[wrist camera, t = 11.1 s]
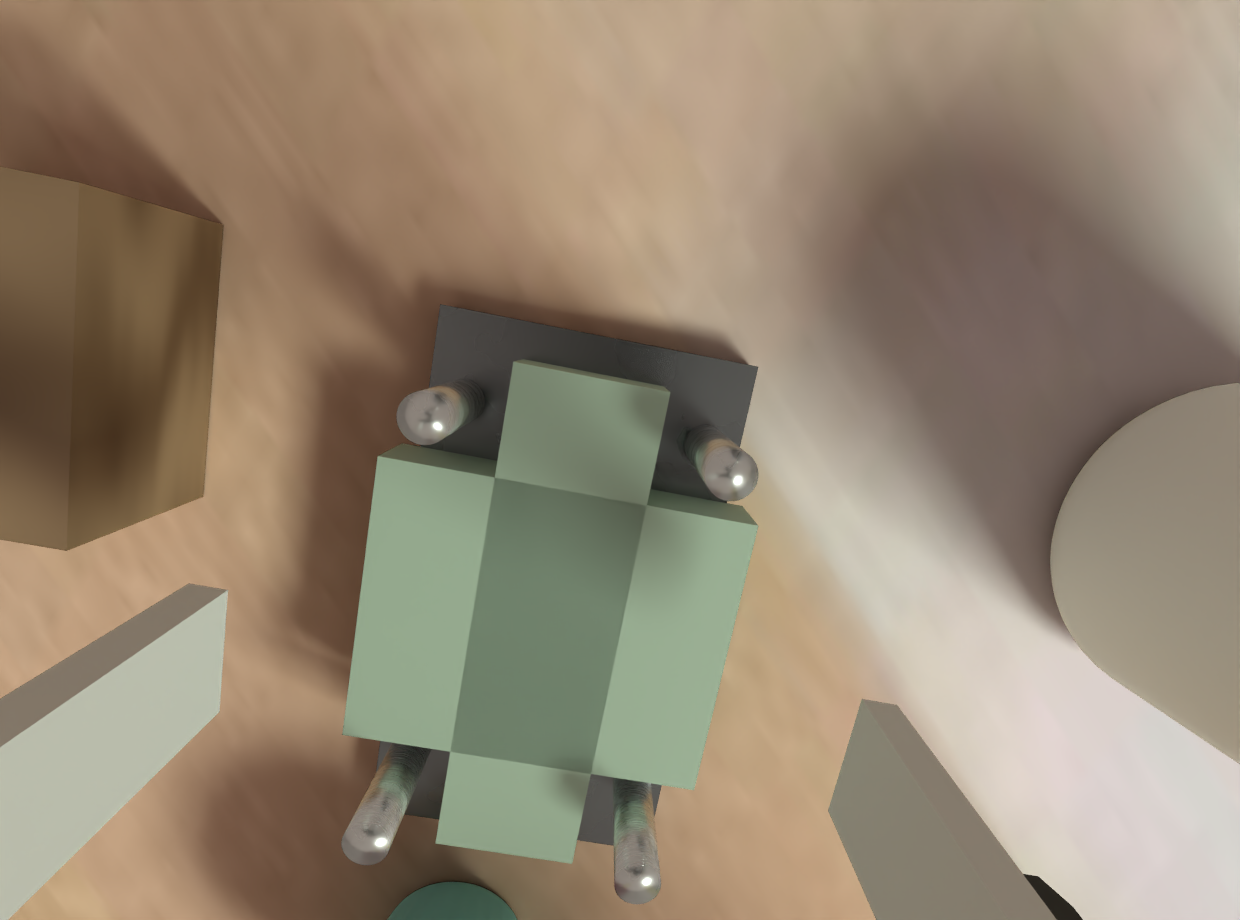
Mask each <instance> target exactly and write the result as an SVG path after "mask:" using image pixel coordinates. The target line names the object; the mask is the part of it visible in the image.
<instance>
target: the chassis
mask: <svg viewBox="0 0 1240 920" xmlns="http://www.w3.org/2000/svg"><path fill="white" fill-rule="evenodd" d="M522 359H526V360H531V361H536V362H541V363H546V364H551V365H556V366H562V367H567V368H572V369H577V370H582V371H587V372H592V373H598V374H603V375H608V376H613V377H618V378H623V379H628V380H633V381H639V382H644V383H649V384H654V385H659V386H664V387H665V388H666V389H667V390H668V391H670V392H671V393H670V397H669V402H668V407H667V412H666V417H665V421H664V426H663V431H662V436H661V441H660V445H659V450H658V455H657V460H656V464H655V469H654V474H653V479H652V484H651V488H650V489H652V490H658V491H663V492H668V493H674V494H679V495H685V496H690V497H696V498H701V499H706V500H712V501H717V502H723V503H727V501H737V500H740V499H743V498H745V497H746V496H748V495H749V494H750V493H751V492H752V491H753V489H754V488H755V486H756V484H757V481H758V468H757V465H756V463H755V461H754V460H753V458H752V457H751V456H750V455H748V454H747V453H746V452H745V451H743V450H742V449H741V448H740V444H741V439H742V435H743V431H744V426H745V422H746V418H747V413H748V409H749V405H750V400H751V396H752V392H753V388H754V383H755V379H756V375H757V370H758V367H757V366H752V365H747V364H741V363H736V362H731V361H726V360H721V359H716V358H711V357H706V356H701V355H696V354H691V353H686V352H680V351H675V350H670V349H665V348H660V347H655V346H650V345H645V344H640V343H635V342H630V341H624V340H619V339H614V338H609V337H604V336H599V335H594V334H589V333H584V332H579V331H574V330H569V329H563V328H558V327H553V326H548V325H543V324H538V323H533V322H528V321H523V320H518V319H513V318H507V317H502V316H497V315H492V314H487V313H482V312H477V311H472V310H467V309H462V308H457V307H452V306H446V305H441V304H440V311H439V318H438V325H437V333H436V340H435V347H434V354H433V362H432V369H431V376H430V384H429V388H428V389H424V390H421V391H417V392H414V393H411V394H409V395H408V396H406V397H405V398H404V399H403V400H402V401H401V403H400V405H399V407H398V410H397V424H398V427H399V429H400V431H401V432H402V434H403V435H404V436H405V437H406V438H407V439H409V440H410V441H412V442H414V443H416V444H420V445H421V447H425V448H430V449H436V450H441V451H447V452H452V453H457V454H463V455H468V456H474V457H479V458H485V459H490V460H495V461H498V454H499V448H500V442H501V436H502V430H503V424H504V417H505V411H506V405H507V399H508V393H509V387H510V380H511V374H512V368H513V362H515V361H518V360H522ZM449 757H450V752H448V751H442V750H436V749H429V748H423V747H417V746H410V745H404V744H398V743H391V742H385V741H380V748H379V755H378V762H377V770H376V774H375V776H374V778H373V780H372V782H371V784H370V786H369V788H368V789H367V791H366V793H365V795H364V797H363V799H362V801H361V803H360V805H359V807H358V808H357V810H356V812H355V814H354V816H353V818H352V820H351V822H350V824H349V826H348V828H347V829H346V831H345V833H344V835H343V837H342V842H341V845H342V850H343V852H344V854H345V855H346V856H347V857H348V858H349V859H350V860H351V861H353V862H355V863H357V864H361V865H373V864H376V863H378V862H380V861H382V860H383V859H384V858H385V857H386V856H387V854H388V852H389V849H390V847H391V845H392V842H393V840H394V837H395V835H396V833H397V830H398V828H399V826H400V823H401V821H402V818H403V816H404V814H406V815H413V816H420V817H426V818H433V819H439V818H440V812H441V806H442V800H443V794H444V787H445V781H446V775H447V769H448V763H449ZM661 786H662V785H658V784H652V783H646V782H639V781H633V780H627V779H620V778H614V777H607V776H601V775H595V774H591V776H590V780H589V785H588V790H587V795H586V800H585V804H584V809H583V814H582V819H581V823H580V828H579V833H578V838H577V840H580V841H587V842H594V843H600V844H607V845H614V883H615V890H616V893H617V895H618V896H619V897H620V898H621V899H622V900H624V901H626V902H628V903H631V904H643V903H646V902H649V901H651V900H652V899H653V898H655V897H656V895H657V894H658V893H659V891H660V887H661V879H660V869H659V860H658V850H657V840H656V830H655V821H654V816H655V812H656V808H657V803H658V799H659V795H660V790H661Z"/></svg>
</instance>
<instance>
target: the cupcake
mask: <svg viewBox="0 0 1240 920" xmlns="http://www.w3.org/2000/svg"><path fill="white" fill-rule="evenodd" d="M387 920H517V918H516V916H515V914H514V913H513V911H512V910H511V908H510V907H509V906H508V905H507V904H506V903H505V902H504V901H503V900H502V899H501V898H500V897H498V896H497V895H496V894H494V893H492V892H491V891H489V890H487V889H485V888H482V887H480V886H477V885H474V884H469V883H464V882H442V883H436V884H432V885H428V886H426V887H423V888H421V889H419V890H417V891H415V892H413V893H412V894H410V895H409V896H407V897H406V898H405V899H404V900H403V901H402V902H401V903H400V904H399V905H398V906H397V907H396V908H395V909H394V911H393V912H392V914H391V915H390V916H389V918H388V919H387Z"/></svg>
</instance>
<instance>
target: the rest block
mask: <svg viewBox="0 0 1240 920" xmlns="http://www.w3.org/2000/svg"><path fill="white" fill-rule="evenodd" d="M222 237H223V225H222V224H219V223H216V222H212V221H209V220H205V219H202V218H199V217H195V216H192V215H188V214H185V213H182V212H178V211H175V210H172V209H168V208H165V207H161V206H158V205H155V204H151V203H148V202H144V201H141V200H138V199H134V198H131V197H127V196H124V195H121V194H117V193H114V192H110V191H107V190H104V189H100V188H97V187H94V186H90V185H87V184H83V183H80V182H75V181H70V180H65V179H60V178H55V177H50V176H45V175H40V174H35V173H31V172H26V171H21V170H16V169H11V168H6V167H1V166H0V540H6V541H12V542H18V543H24V544H30V545H36V546H41V547H47V548H53V549H59V550H65V551H67V550H70V549H72V548H75V547H77V546H80V545H82V544H85V543H87V542H90V541H93V540H95V539H98V538H100V537H103V536H105V535H108V534H110V533H113V532H115V531H118V530H120V529H123V528H125V527H128V526H130V525H133V524H135V523H138V522H140V521H143V520H146V519H148V518H151V517H153V516H156V515H158V514H161V513H163V512H166V511H168V510H171V509H173V508H176V507H178V506H181V505H183V504H186V503H188V502H191V501H193V500H196V499H198V498H201V497H203V492H204V479H205V465H206V452H207V439H208V425H209V412H210V398H211V385H212V371H213V358H214V345H215V331H216V318H217V304H218V291H219V278H220V264H221V251H222Z"/></svg>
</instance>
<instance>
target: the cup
mask: <svg viewBox="0 0 1240 920" xmlns="http://www.w3.org/2000/svg"><path fill="white" fill-rule="evenodd" d="M1050 569H1051V579H1052V588H1053V592H1054V596H1055V600H1056V603H1057V606H1058V609H1059V611H1060V614H1061V617H1062V619H1063V621H1064V623H1065V625H1066V627H1067V629H1068V631H1069V633H1070V634H1071V636H1072V637H1073V639H1074V640H1075V642H1076V643H1077V644H1078V646H1079V647H1080V649H1081V650H1082V651H1083V652H1084V653H1085V654H1086V655H1087V656H1088V658H1089V659H1090V660H1091V661H1092V662H1093V663H1094V664H1095V665H1096V666H1097V667H1098V668H1100V669H1101V670H1102V671H1103V672H1105V673H1106V674H1107V675H1108V676H1110V677H1111V678H1112V679H1114V680H1115V681H1116V682H1118V683H1119V684H1121V685H1122V686H1124V687H1125V688H1127V689H1128V690H1130V691H1131V692H1133V693H1134V694H1136V695H1137V696H1139V697H1140V698H1142V699H1143V700H1145V701H1146V702H1148V703H1149V704H1151V705H1152V706H1154V707H1155V708H1157V709H1158V710H1160V711H1161V712H1163V713H1164V714H1166V715H1167V716H1169V717H1170V718H1172V719H1173V720H1175V721H1176V722H1178V723H1179V724H1181V725H1182V726H1184V727H1185V728H1187V729H1188V730H1190V731H1191V732H1192V733H1194V734H1195V735H1197V736H1198V737H1200V738H1201V739H1203V740H1204V741H1206V742H1207V743H1209V744H1210V745H1212V746H1213V747H1215V748H1216V749H1218V750H1219V751H1221V752H1222V753H1224V754H1225V755H1227V756H1228V757H1230V758H1231V759H1233V760H1234V761H1236V762H1237V763H1239V764H1240V383H1232V384H1226V385H1219V386H1213V387H1208V388H1204V389H1200V390H1196V391H1193V392H1189V393H1186V394H1184V395H1181V396H1178V397H1175V398H1172V399H1170V400H1168V401H1166V402H1164V403H1162V404H1160V405H1158V406H1155V407H1153V408H1152V409H1150V410H1148V411H1146V412H1144V413H1143V414H1141V415H1139V416H1137V417H1136V418H1134V419H1133V420H1132V421H1130V422H1129V423H1127V424H1126V425H1124V426H1123V427H1122V428H1121V429H1119V430H1118V431H1117V432H1115V433H1114V434H1113V435H1112V436H1111V437H1110V438H1109V439H1108V440H1107V441H1105V442H1104V443H1103V444H1102V445H1101V447H1100V448H1099V449H1098V450H1097V451H1096V452H1095V453H1094V454H1093V455H1092V456H1091V458H1090V459H1089V460H1088V461H1087V463H1086V464H1085V465H1084V467H1083V468H1082V469H1081V471H1080V472H1079V474H1078V475H1077V477H1076V478H1075V480H1074V482H1073V484H1072V485H1071V487H1070V489H1069V491H1068V493H1067V495H1066V497H1065V499H1064V501H1063V503H1062V506H1061V509H1060V511H1059V514H1058V517H1057V521H1056V524H1055V528H1054V532H1053V537H1052V544H1051V553H1050Z"/></svg>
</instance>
